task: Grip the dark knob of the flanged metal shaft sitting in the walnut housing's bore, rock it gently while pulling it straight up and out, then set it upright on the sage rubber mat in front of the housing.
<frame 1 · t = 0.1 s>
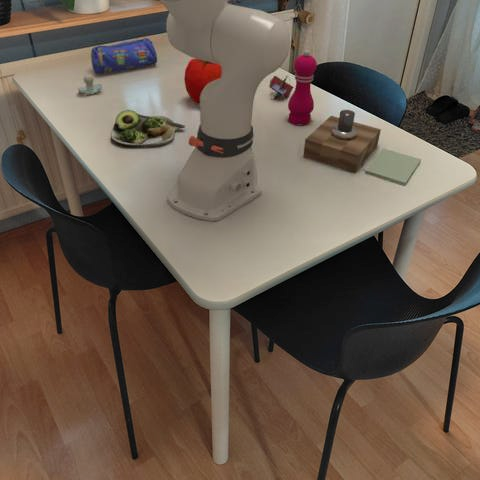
geometric puzzle: (280, 97, 156), on the table
pepper mill: (299, 120, 144), on the table
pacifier: (90, 93, 155), on the table
mat: (393, 167, 125), on the table
flanged metal shaft: (344, 132, 127), in the housing
tomato: (206, 102, 152), on the table
pencil case: (126, 70, 170), on the table
salad plate: (142, 134, 136), on the table
housing: (340, 151, 130), on the table
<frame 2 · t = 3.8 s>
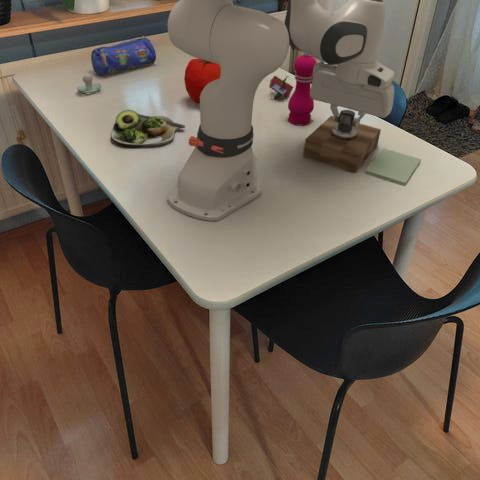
hand: (345, 123, 125), 8 cm above the table, tool pointing down, fingers closed on flanged metal shaft, 4 cm apart
flanged metal shaft: (344, 132, 127), in the housing, touching gripper
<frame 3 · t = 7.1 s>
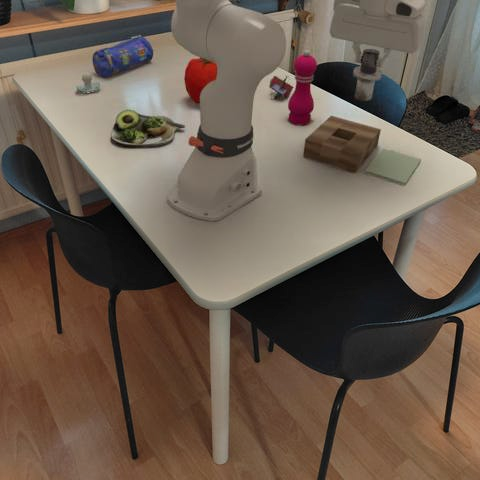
hand: (369, 64, 114), 23 cm above the table, tool pointing down, fingers closed on flanged metal shaft, 4 cm apart
flanged metal shaft: (367, 75, 116), point 21 cm above the table, touching gripper
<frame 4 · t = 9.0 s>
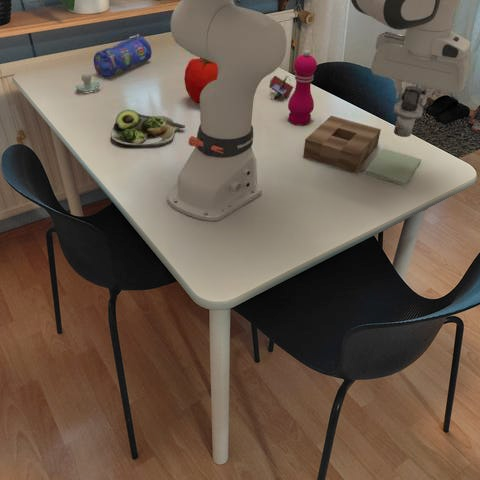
hand: (410, 101, 114), 17 cm above the table, tool pointing down, fingers closed on flanged metal shaft, 4 cm apart
flanged metal shaft: (407, 111, 115), point 15 cm above the table, touching gripper
when the fingers open (10 cm above the table, at t = 10.6 s): flanged metal shaft drops 1 cm, resting on mat.
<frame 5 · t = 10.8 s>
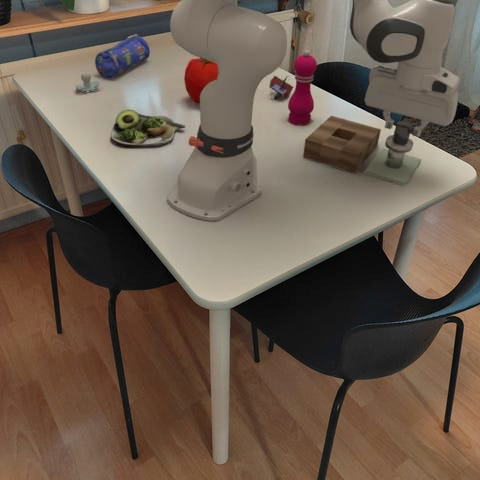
hand: (402, 131, 119), 10 cm above the table, tool pointing down, fingers open, 5 cm apart
flanged metal shaft: (398, 145, 121), on the mat, point 6 cm above the table
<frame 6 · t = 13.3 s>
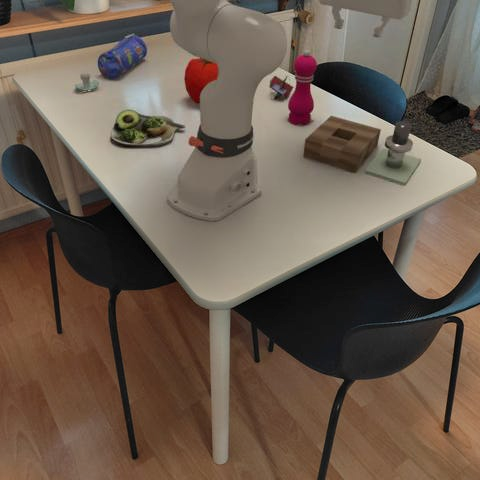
hand: (357, 32, 113), 29 cm above the table, tool pointing down, fingers open, 8 cm apart
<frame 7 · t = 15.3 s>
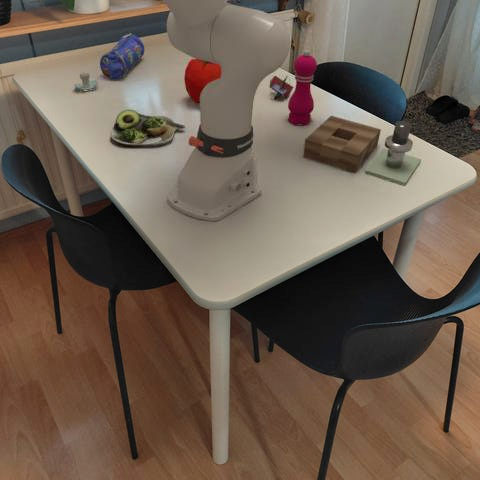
at the end: flanged metal shaft inside the target area on the mat (0.1 cm from its centre), point 6.2 cm above the mat's base; flanged metal shaft tilted 0°; the gripper is holding nothing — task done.
